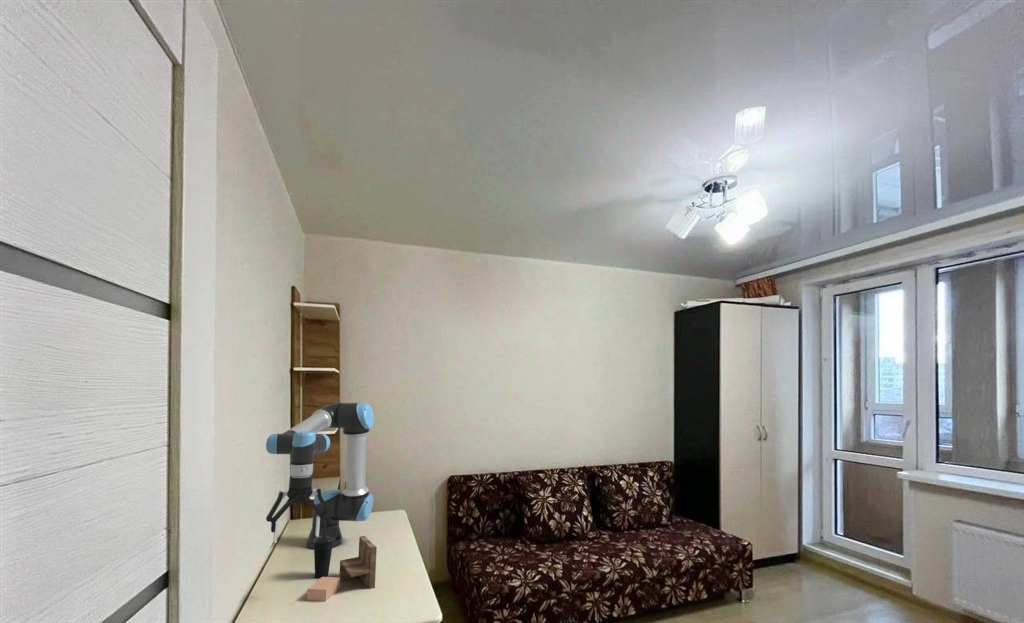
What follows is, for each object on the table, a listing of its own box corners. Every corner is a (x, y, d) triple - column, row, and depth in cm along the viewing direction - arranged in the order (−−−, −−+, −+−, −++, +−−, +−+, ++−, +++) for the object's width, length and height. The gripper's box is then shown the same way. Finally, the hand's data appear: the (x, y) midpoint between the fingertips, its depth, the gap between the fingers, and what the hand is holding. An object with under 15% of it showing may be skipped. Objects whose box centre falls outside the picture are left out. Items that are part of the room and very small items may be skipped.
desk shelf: (339, 578, 182) (341, 539, 184) (362, 573, 187) (364, 535, 189) (349, 593, 170) (352, 552, 172) (374, 587, 175) (376, 547, 177)
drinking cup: (336, 573, 187) (339, 520, 190) (322, 581, 180) (325, 525, 182) (320, 570, 189) (323, 518, 192) (306, 578, 182) (310, 523, 185)
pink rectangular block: (306, 601, 165) (307, 588, 165) (321, 588, 175) (322, 576, 175) (325, 602, 164) (326, 589, 164) (339, 589, 174) (340, 577, 174)
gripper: (263, 481, 161) (257, 547, 158) (339, 474, 174) (335, 536, 170) (261, 477, 167) (255, 541, 164) (335, 471, 180) (331, 530, 177)
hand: (296, 538), depth 167 cm, fingers open, 13 cm apart
